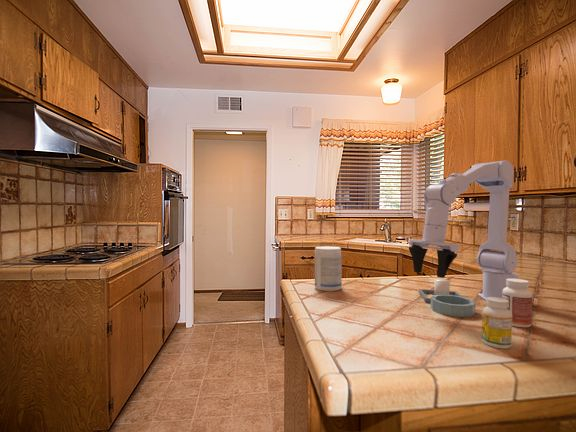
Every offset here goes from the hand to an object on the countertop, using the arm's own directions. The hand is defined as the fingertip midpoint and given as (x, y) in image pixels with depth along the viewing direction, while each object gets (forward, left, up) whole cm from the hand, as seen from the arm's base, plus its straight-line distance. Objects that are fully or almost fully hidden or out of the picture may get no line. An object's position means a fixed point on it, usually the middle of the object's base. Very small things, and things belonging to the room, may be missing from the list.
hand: (428, 274), depth 89 cm
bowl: (-7, -4, -11) cm, 13 cm away
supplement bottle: (-10, +19, -11) cm, 24 cm away
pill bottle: (-20, +4, -11) cm, 23 cm away
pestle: (-7, -16, -11) cm, 21 cm away
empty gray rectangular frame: (-7, -16, -11) cm, 21 cm away
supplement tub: (+30, -19, -11) cm, 37 cm away
